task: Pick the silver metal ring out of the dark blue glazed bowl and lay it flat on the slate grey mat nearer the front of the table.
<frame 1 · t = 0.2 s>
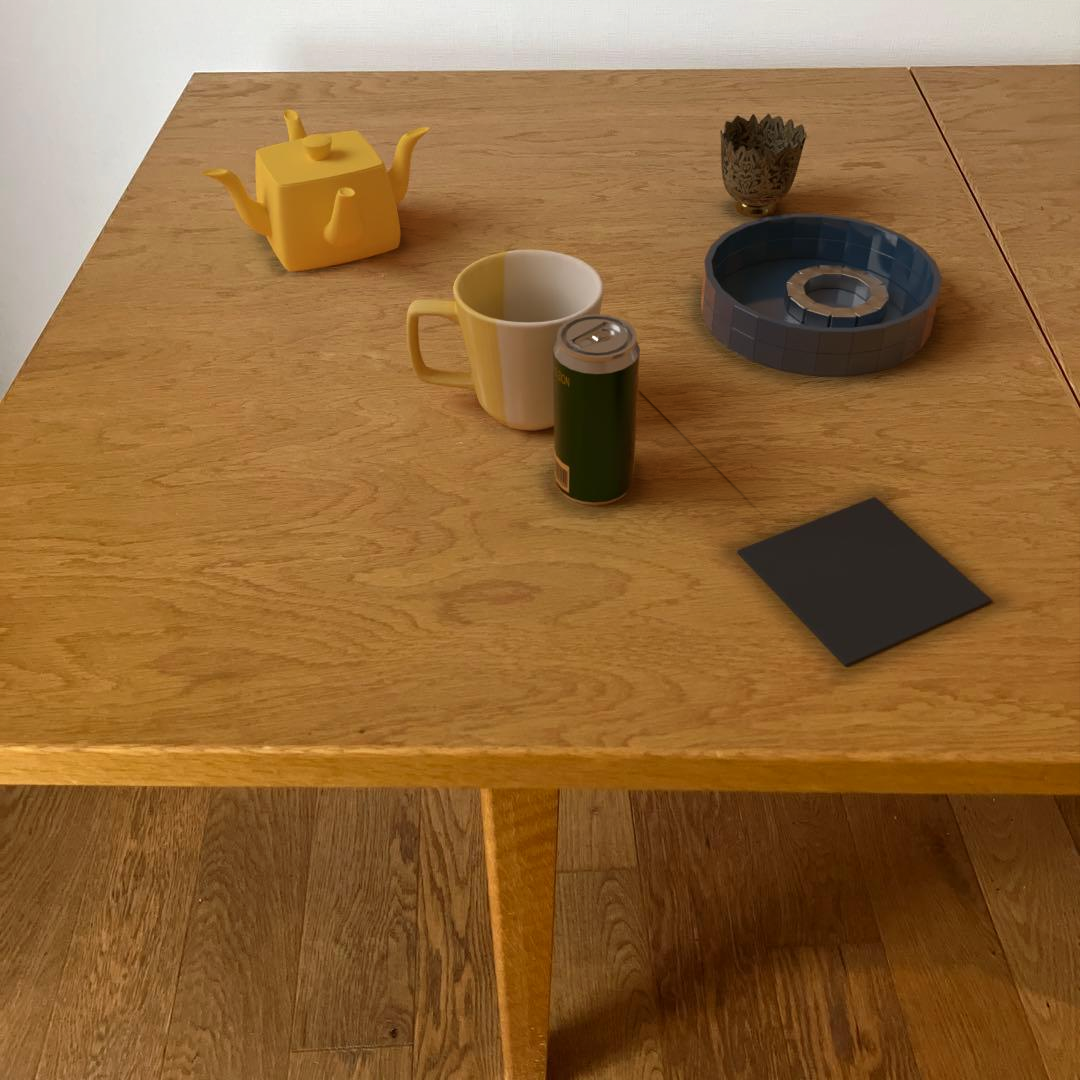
teapot: (331, 243, 108), on the table
bowl: (813, 317, 97), on the table
ring: (834, 305, 97), point 1 cm above the table, touching bowl
mug: (509, 408, 89), on the table
beer can: (593, 487, 82), on the table
mat: (860, 581, 74), on the table
cup: (753, 215, 110), on the table
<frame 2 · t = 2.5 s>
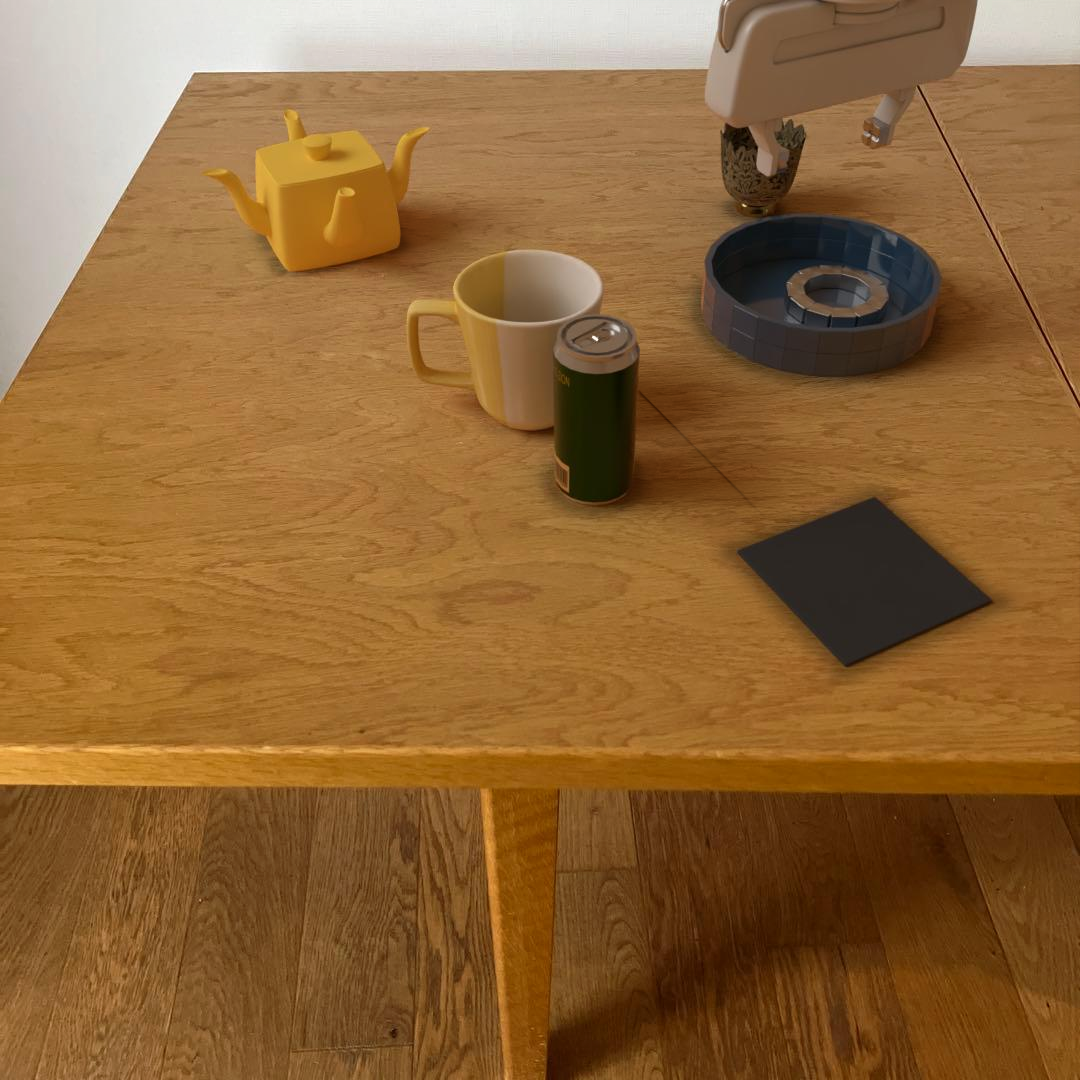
hand: (824, 158, 87), 14 cm above the table, tool pointing down, fingers open, 8 cm apart
nothing on the table moved.
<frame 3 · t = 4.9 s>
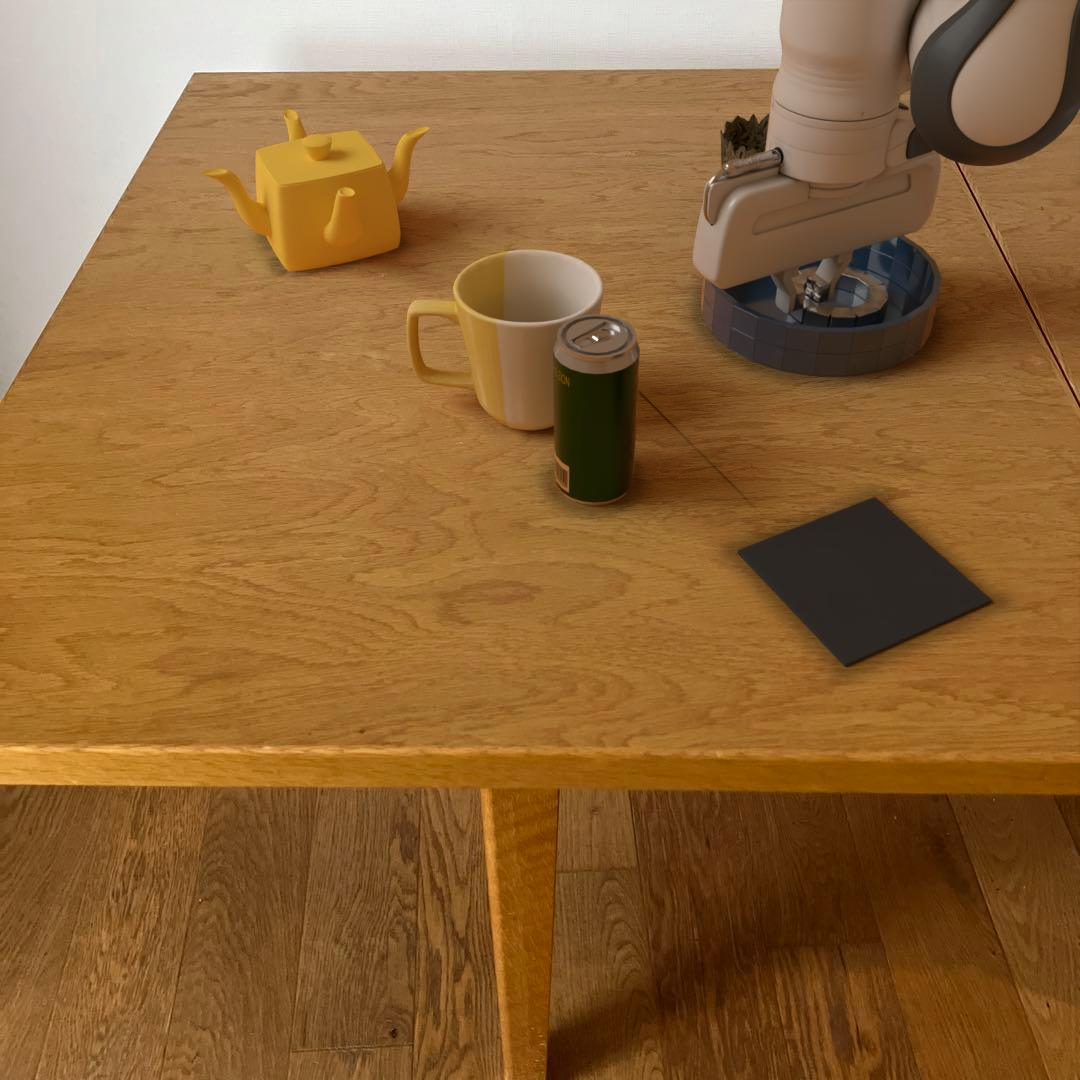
hand: (803, 303, 95), 2 cm above the table, tool pointing down, fingers closed on ring, 1 cm apart
ring: (834, 305, 97), point 1 cm above the table, touching bowl, gripper
everything else where it was.
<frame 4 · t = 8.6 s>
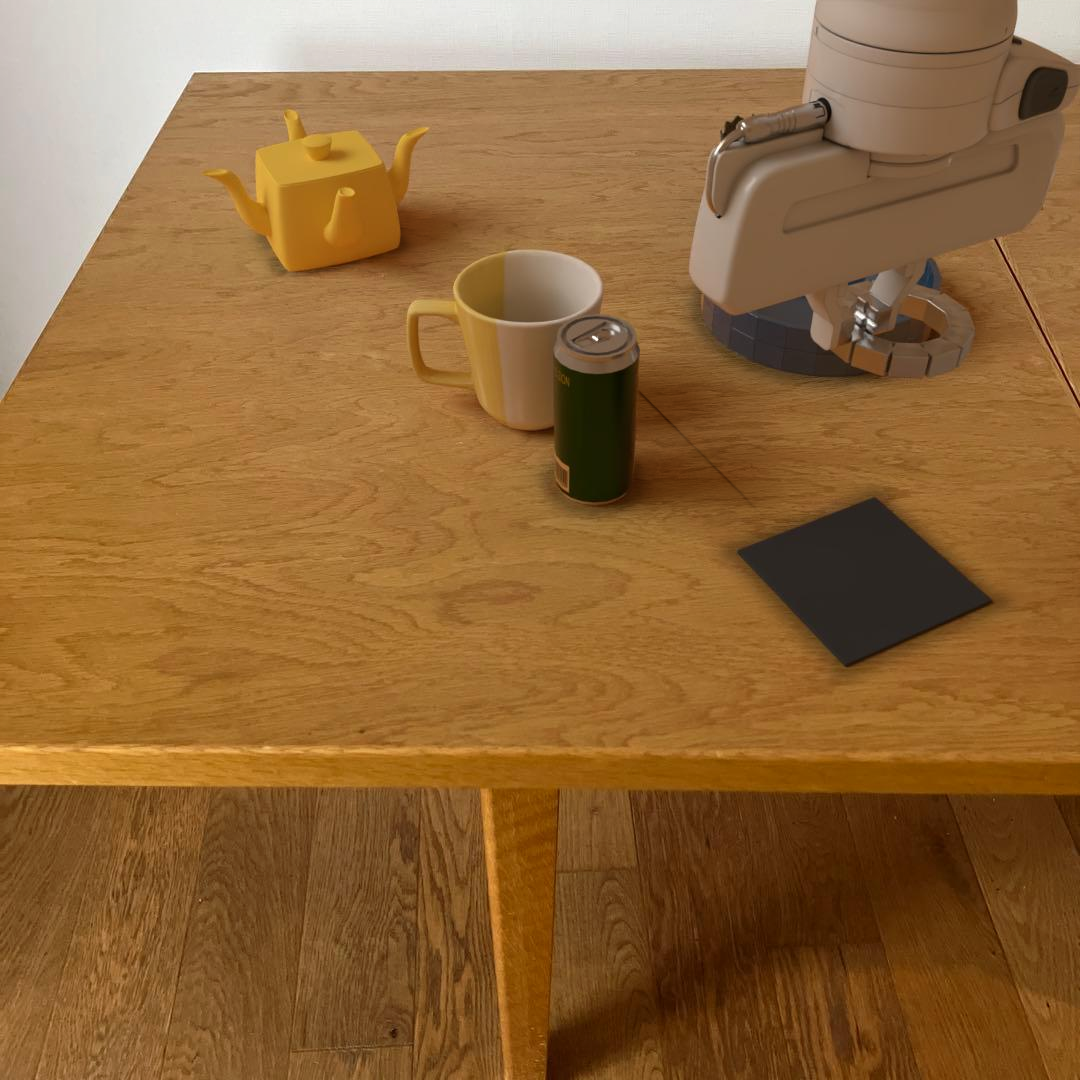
hand: (851, 335, 65), 16 cm above the table, tool pointing down, fingers closed on ring
ring: (894, 338, 67), point 15 cm above the table, touching gripper
everything else where it was.
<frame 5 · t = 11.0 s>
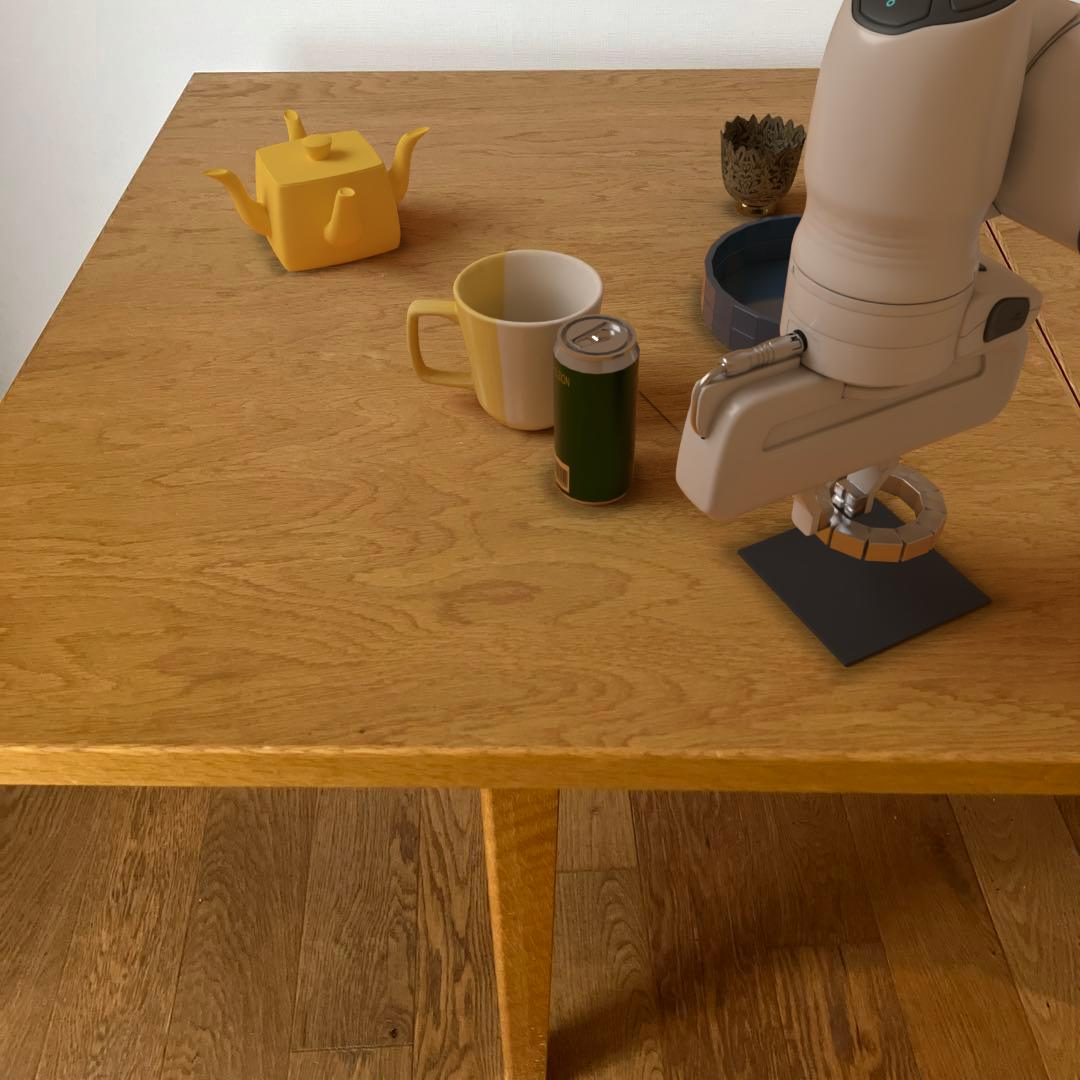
hand: (830, 518, 69), 7 cm above the table, tool pointing down, fingers closed on ring
ring: (871, 516, 71), point 5 cm above the table, touching gripper
everything else where it was.
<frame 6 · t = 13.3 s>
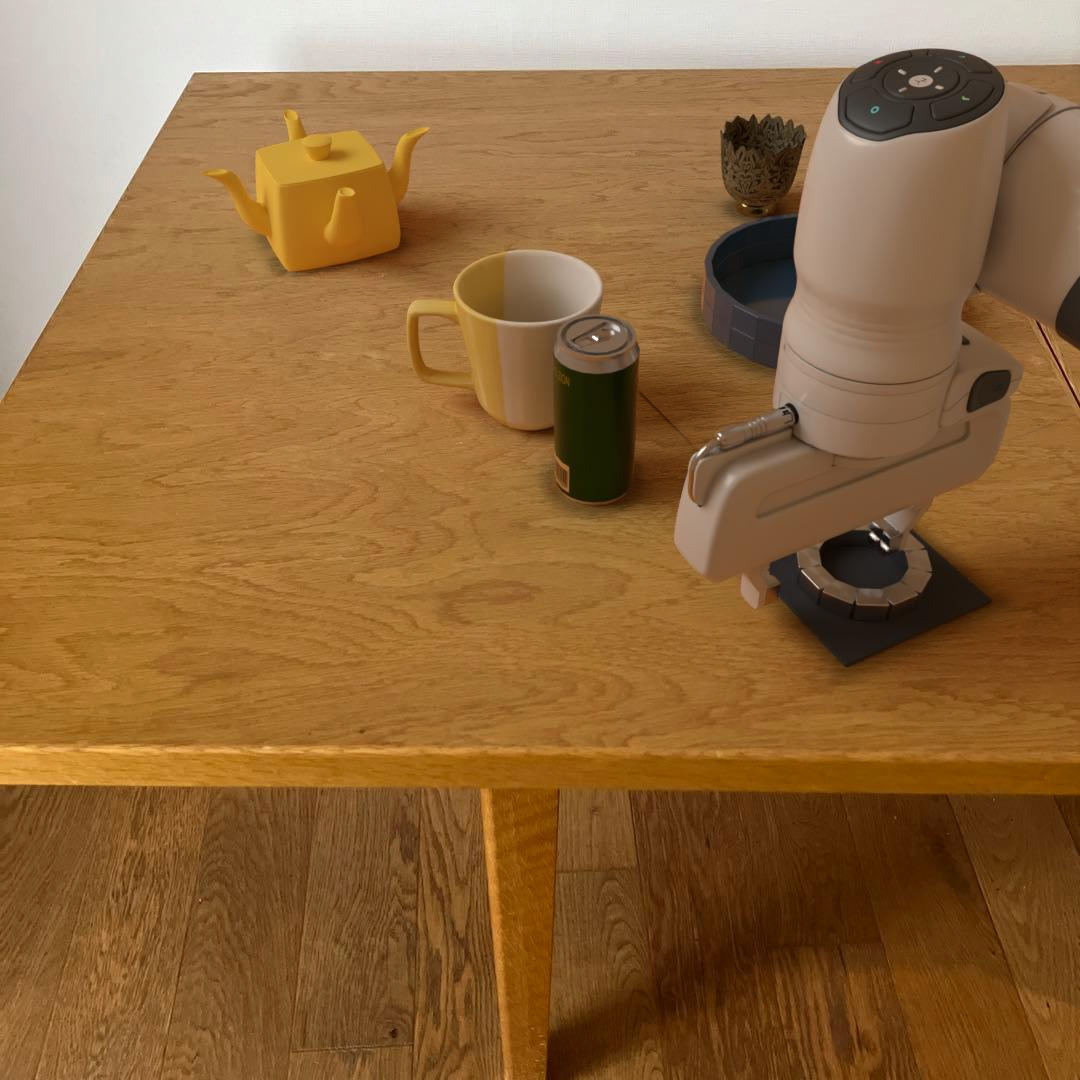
hand: (823, 572, 72), 2 cm above the table, tool pointing down, fingers open, 8 cm apart
ring: (859, 574, 74), point 1 cm above the table, touching mat
everything else where it was.
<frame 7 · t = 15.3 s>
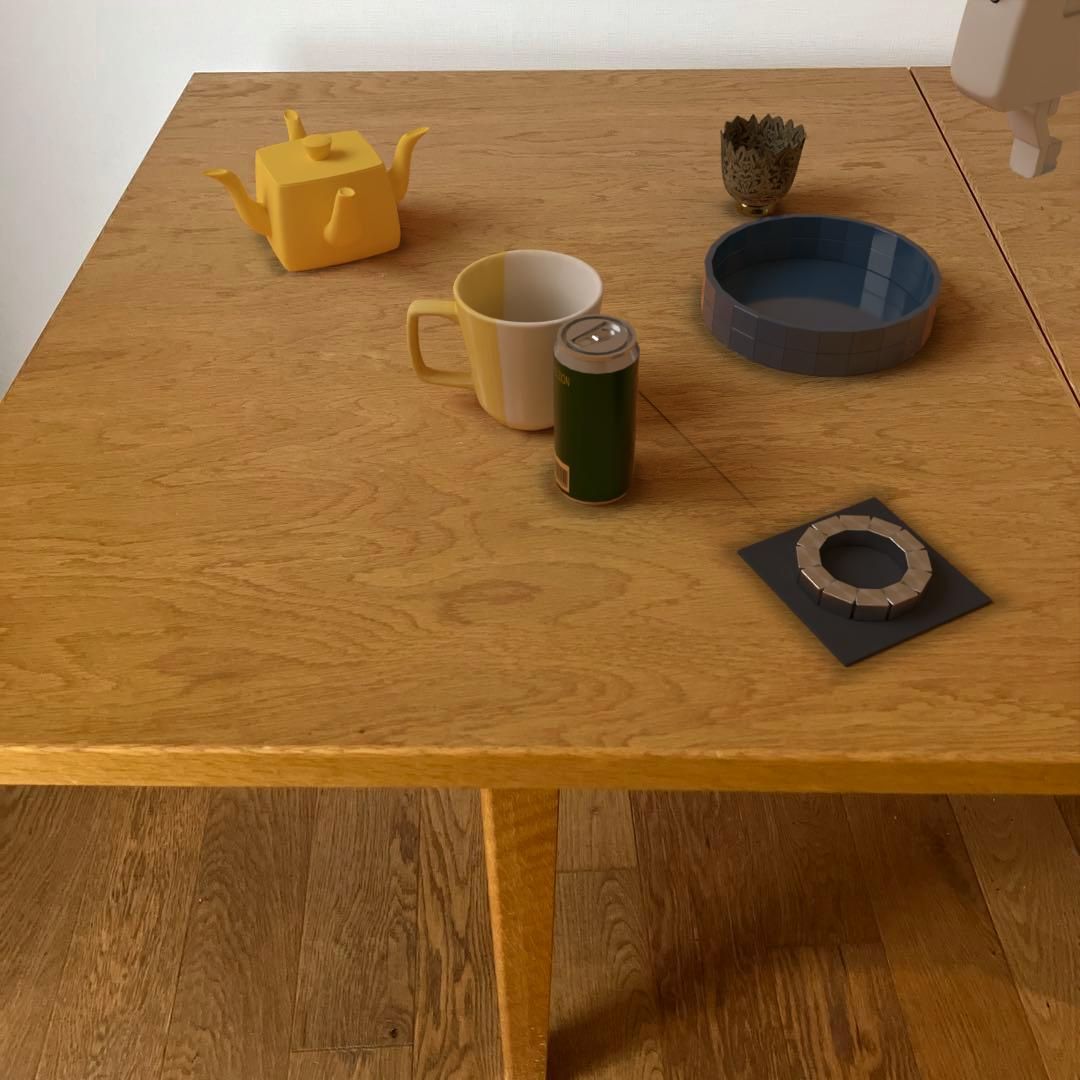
nothing on the table moved.
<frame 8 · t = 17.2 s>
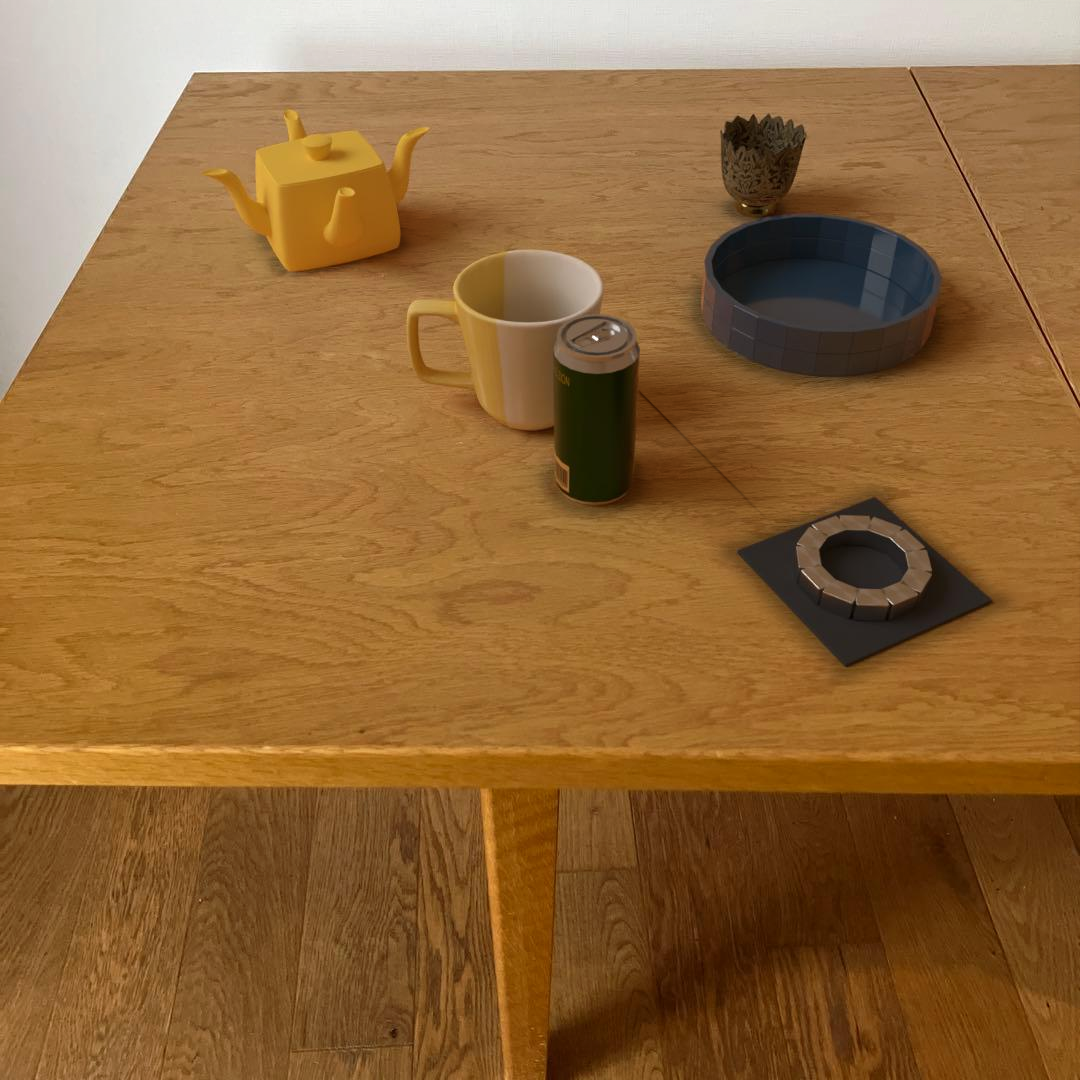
nothing on the table moved.
at the end: ring inside the target area on the mat (0.1 cm from its centre), point 0.6 cm above the mat's base; ring 0.1 cm from the mat (horizontally); the gripper is holding nothing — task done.
